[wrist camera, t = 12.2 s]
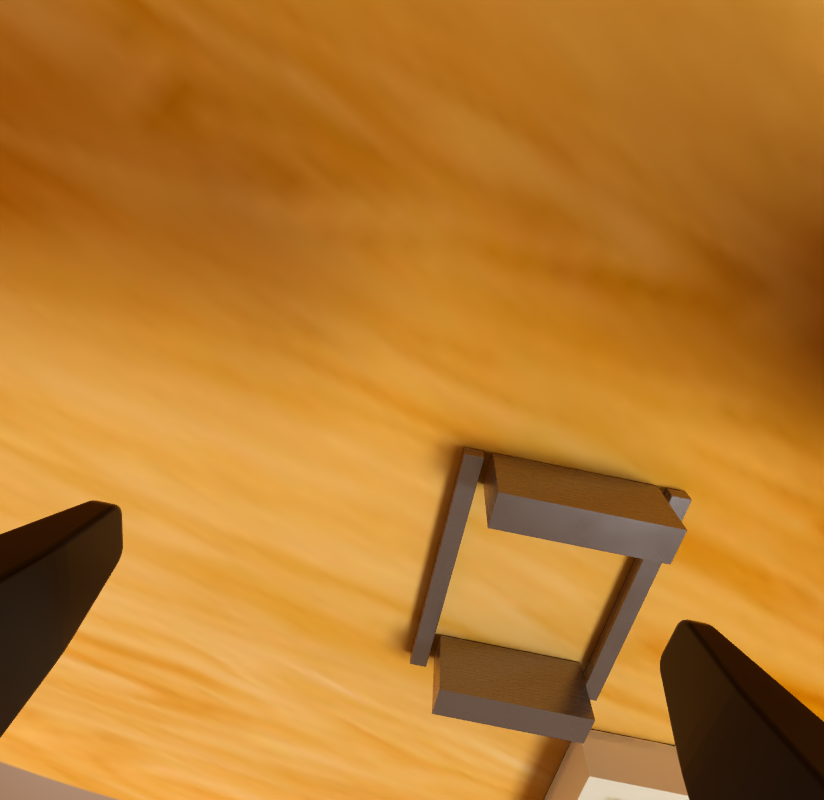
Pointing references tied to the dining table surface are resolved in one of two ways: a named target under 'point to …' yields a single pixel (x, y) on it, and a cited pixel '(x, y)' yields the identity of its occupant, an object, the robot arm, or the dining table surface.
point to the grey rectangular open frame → (562, 522)
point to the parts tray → (618, 770)
